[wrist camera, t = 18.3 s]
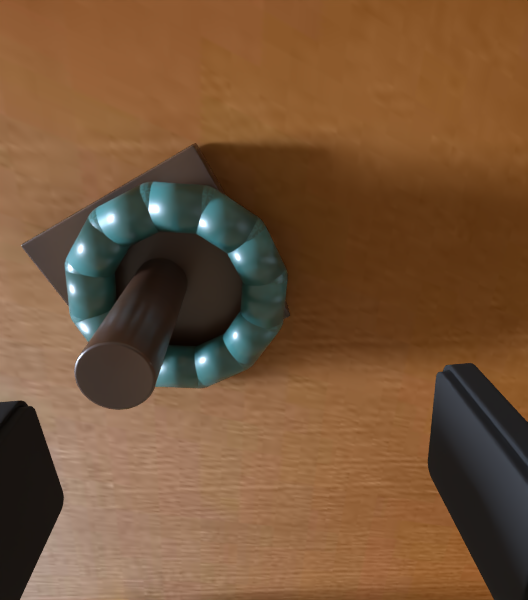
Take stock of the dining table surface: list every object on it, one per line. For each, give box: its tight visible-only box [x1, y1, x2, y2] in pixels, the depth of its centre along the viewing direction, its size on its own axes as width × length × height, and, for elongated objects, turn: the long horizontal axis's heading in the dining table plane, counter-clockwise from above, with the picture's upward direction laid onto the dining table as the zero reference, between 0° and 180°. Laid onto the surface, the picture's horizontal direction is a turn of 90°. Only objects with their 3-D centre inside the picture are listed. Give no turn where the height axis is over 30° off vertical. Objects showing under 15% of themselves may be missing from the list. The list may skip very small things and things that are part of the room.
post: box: [21, 143, 290, 410], centre depth 17 cm, size 9×9×9 cm
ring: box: [65, 182, 288, 388], centre depth 20 cm, size 10×10×2 cm
